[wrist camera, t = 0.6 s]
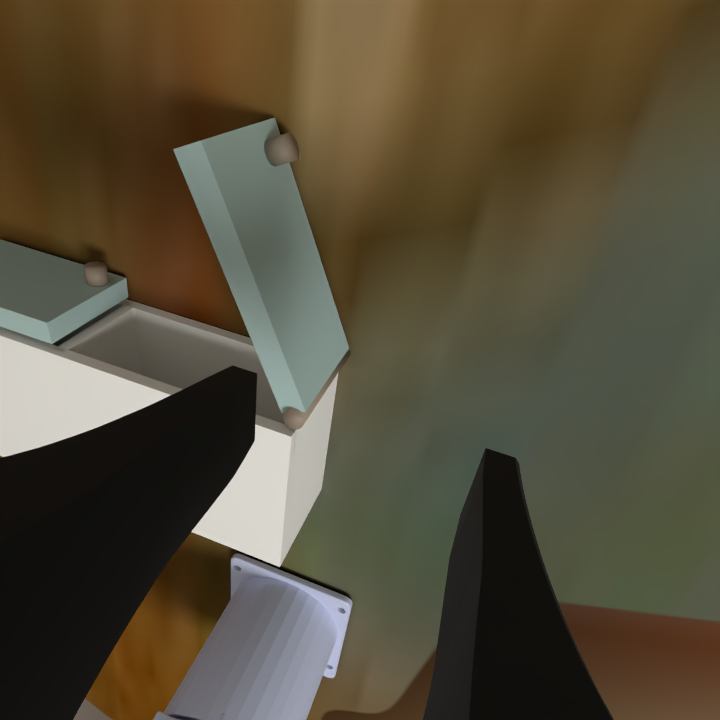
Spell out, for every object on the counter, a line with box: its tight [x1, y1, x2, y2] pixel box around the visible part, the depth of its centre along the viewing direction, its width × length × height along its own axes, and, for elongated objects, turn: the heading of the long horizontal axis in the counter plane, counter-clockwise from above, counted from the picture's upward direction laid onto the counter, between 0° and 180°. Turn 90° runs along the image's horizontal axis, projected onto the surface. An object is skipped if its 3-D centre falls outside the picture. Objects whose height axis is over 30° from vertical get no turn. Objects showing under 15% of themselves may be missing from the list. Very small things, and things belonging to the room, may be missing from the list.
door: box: [173, 117, 350, 429], centre depth 19 cm, size 2×10×5 cm, turn 17°
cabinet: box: [0, 239, 338, 567], centre depth 25 cm, size 10×18×5 cm, turn 82°
